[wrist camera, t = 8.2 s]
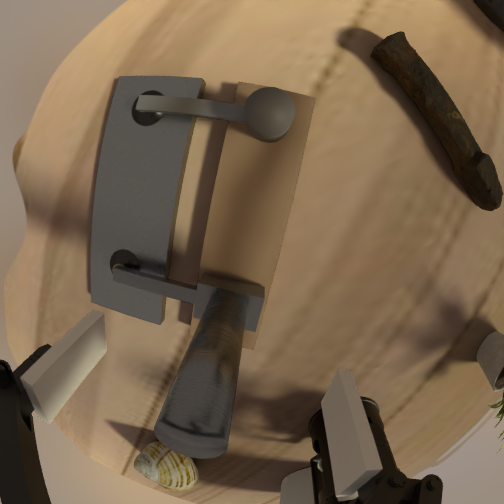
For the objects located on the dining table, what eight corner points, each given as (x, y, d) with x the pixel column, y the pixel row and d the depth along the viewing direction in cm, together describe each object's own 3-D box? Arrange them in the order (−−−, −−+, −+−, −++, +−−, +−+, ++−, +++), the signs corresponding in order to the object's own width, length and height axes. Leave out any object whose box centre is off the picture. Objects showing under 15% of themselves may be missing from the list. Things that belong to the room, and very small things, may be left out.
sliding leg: (264, 286, 22) (260, 434, 8) (256, 317, 23) (244, 467, 9) (117, 250, 22) (-5, 328, 8) (116, 281, 23) (10, 372, 9)
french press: (347, 383, 27) (397, 571, 4) (395, 403, 28) (451, 545, 5) (285, 436, 30) (288, 590, 7) (336, 450, 31) (356, 580, 8)
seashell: (190, 478, 34) (154, 507, 25) (155, 438, 37) (114, 461, 28) (224, 467, 31) (186, 504, 22) (184, 422, 34) (138, 451, 25)
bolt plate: (205, 83, 19) (202, 78, 18) (164, 319, 25) (160, 325, 24) (125, 79, 19) (118, 76, 18) (97, 297, 25) (90, 302, 24)
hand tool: (361, 56, 18) (379, 35, 14) (388, 41, 17) (408, 22, 13) (463, 221, 21) (491, 231, 17) (483, 200, 21) (511, 207, 16)
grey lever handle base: (312, 102, 19) (327, 79, 14) (254, 340, 25) (250, 382, 20) (156, 79, 19) (126, 56, 14) (123, 306, 25) (94, 336, 20)
